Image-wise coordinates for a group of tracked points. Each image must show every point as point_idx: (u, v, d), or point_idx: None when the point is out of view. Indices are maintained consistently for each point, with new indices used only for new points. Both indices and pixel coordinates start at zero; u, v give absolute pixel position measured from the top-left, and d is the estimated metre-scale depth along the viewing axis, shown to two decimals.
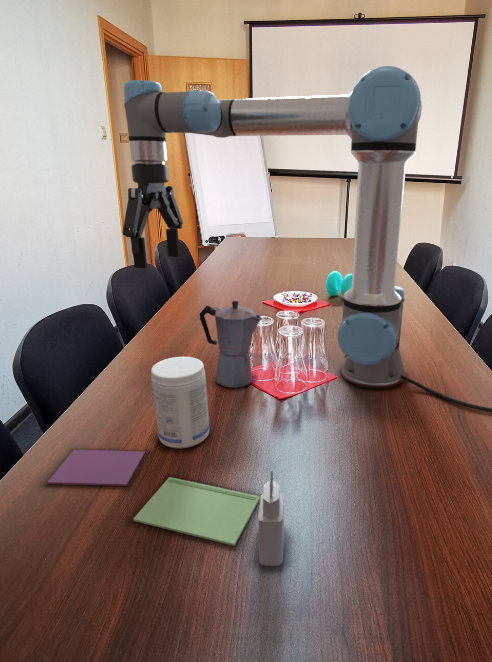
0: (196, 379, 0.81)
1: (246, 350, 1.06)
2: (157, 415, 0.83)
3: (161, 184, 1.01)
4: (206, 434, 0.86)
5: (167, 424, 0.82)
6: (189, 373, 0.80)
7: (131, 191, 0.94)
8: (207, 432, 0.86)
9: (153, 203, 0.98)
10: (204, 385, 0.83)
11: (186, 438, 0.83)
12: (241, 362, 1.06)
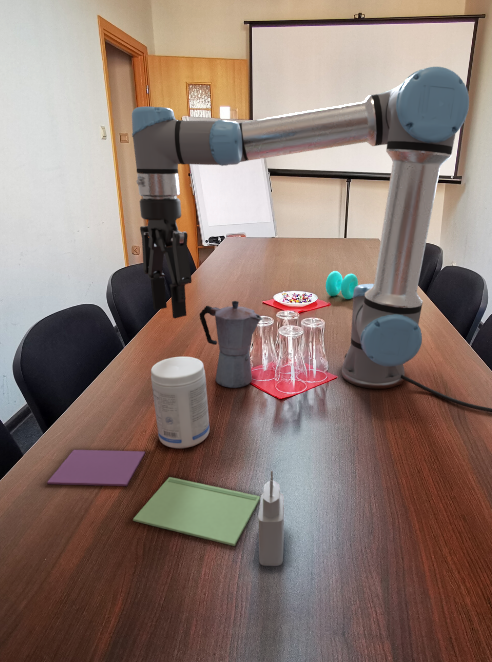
0: (196, 379, 0.81)
1: (246, 350, 1.06)
2: (157, 415, 0.83)
3: None
4: (206, 434, 0.86)
5: (167, 424, 0.82)
6: (189, 373, 0.80)
7: (180, 237, 0.85)
8: (207, 432, 0.86)
9: None
10: (204, 385, 0.83)
11: (186, 438, 0.83)
12: (241, 362, 1.06)
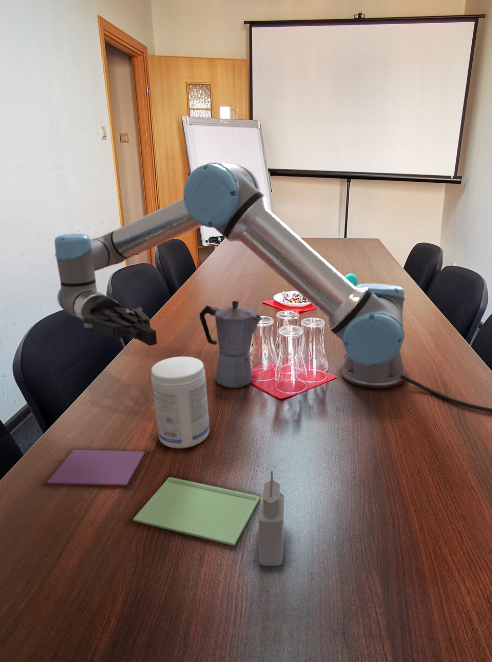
0: (196, 379, 0.81)
1: (246, 350, 1.06)
2: (157, 415, 0.83)
3: None
4: (206, 434, 0.86)
5: (167, 424, 0.82)
6: (189, 373, 0.80)
7: (86, 327, 0.94)
8: (207, 432, 0.86)
9: (110, 313, 0.96)
10: (204, 385, 0.83)
11: (186, 438, 0.83)
12: (241, 362, 1.06)
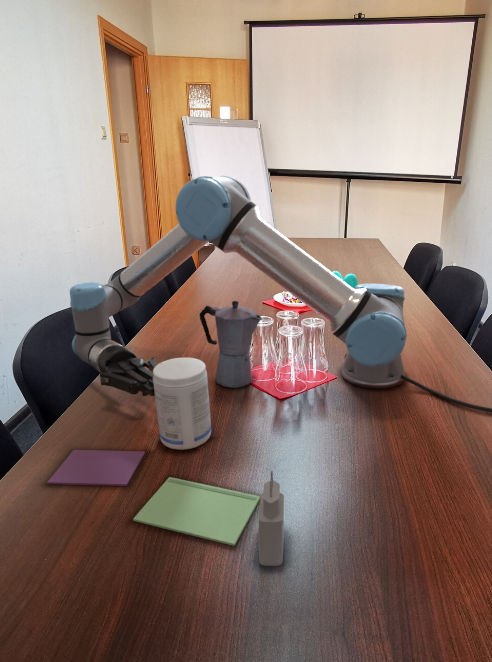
0: (198, 380, 0.80)
1: (246, 350, 1.06)
2: (159, 416, 0.83)
3: None
4: (208, 435, 0.86)
5: (169, 425, 0.81)
6: (191, 374, 0.80)
7: (102, 381, 0.95)
8: (209, 433, 0.86)
9: (125, 366, 0.97)
10: (206, 386, 0.83)
11: (188, 439, 0.82)
12: (241, 362, 1.06)
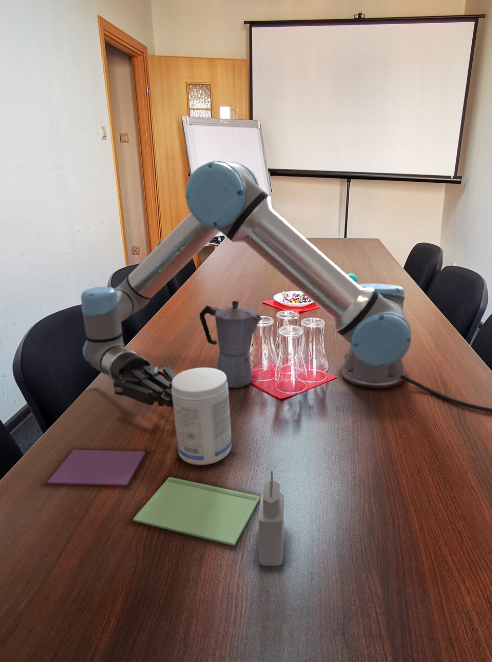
0: (219, 392, 0.76)
1: (246, 350, 1.06)
2: (177, 430, 0.78)
3: None
4: (228, 449, 0.82)
5: (189, 439, 0.77)
6: (212, 386, 0.75)
7: (116, 391, 0.90)
8: (229, 447, 0.82)
9: (140, 374, 0.93)
10: (227, 398, 0.79)
11: (209, 454, 0.78)
12: (241, 362, 1.06)
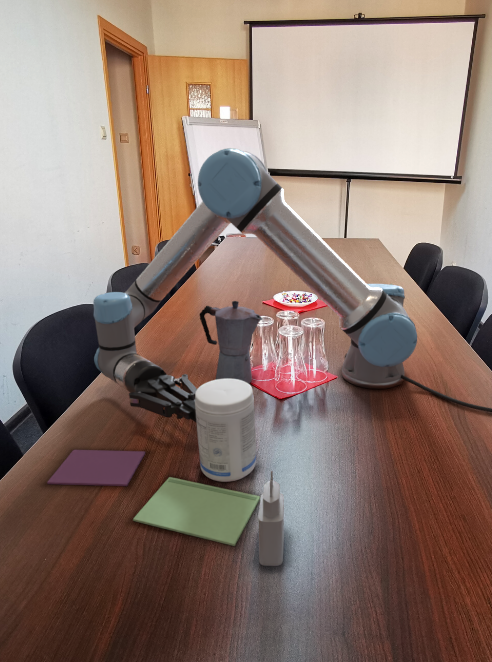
0: (247, 405, 0.72)
1: (246, 350, 1.06)
2: (202, 446, 0.74)
3: (161, 376, 0.94)
4: (254, 464, 0.78)
5: (215, 456, 0.73)
6: (240, 399, 0.71)
7: (132, 402, 0.86)
8: (255, 461, 0.78)
9: (156, 385, 0.88)
10: (253, 410, 0.75)
11: (236, 470, 0.74)
12: (241, 362, 1.06)
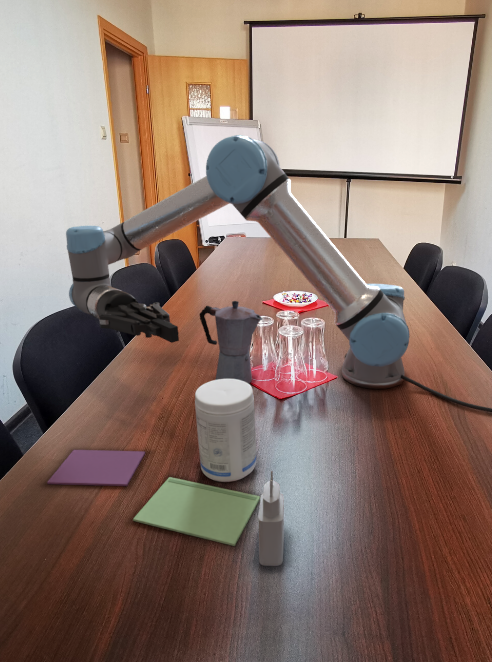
0: (247, 405, 0.72)
1: (246, 350, 1.06)
2: (202, 446, 0.74)
3: None
4: (254, 464, 0.78)
5: (215, 456, 0.73)
6: (241, 399, 0.71)
7: (102, 324, 0.87)
8: (255, 461, 0.78)
9: (126, 308, 0.90)
10: (254, 410, 0.75)
11: (236, 470, 0.74)
12: (241, 362, 1.06)
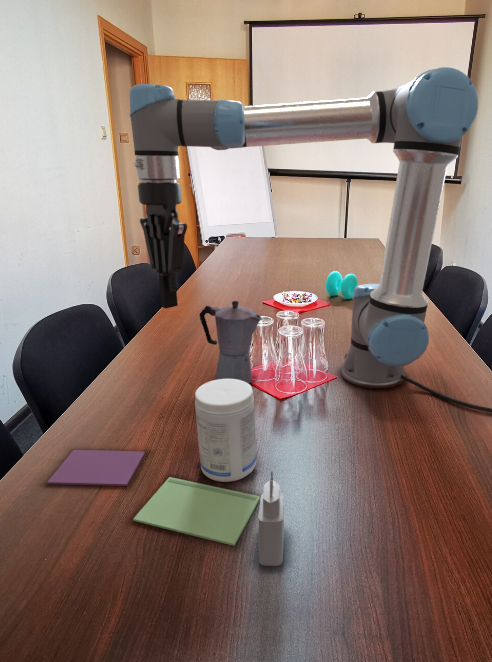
0: (247, 405, 0.72)
1: (246, 350, 1.06)
2: (202, 446, 0.74)
3: None
4: (254, 464, 0.78)
5: (215, 456, 0.73)
6: (240, 399, 0.71)
7: (179, 229, 0.81)
8: (255, 461, 0.78)
9: None
10: None
11: (236, 470, 0.74)
12: (241, 362, 1.06)
